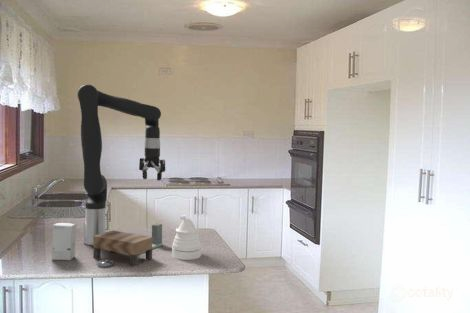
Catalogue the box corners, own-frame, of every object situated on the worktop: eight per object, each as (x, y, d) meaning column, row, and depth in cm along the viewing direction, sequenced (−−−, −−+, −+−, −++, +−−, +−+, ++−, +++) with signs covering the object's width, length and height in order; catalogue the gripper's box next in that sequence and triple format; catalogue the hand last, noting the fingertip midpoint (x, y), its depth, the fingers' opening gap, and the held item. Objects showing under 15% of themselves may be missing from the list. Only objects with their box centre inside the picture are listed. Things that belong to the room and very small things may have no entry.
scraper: (156, 244, 225) (156, 223, 224) (162, 245, 223) (163, 224, 223) (128, 254, 207) (128, 231, 206) (135, 255, 205) (135, 233, 204)
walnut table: (93, 257, 200) (93, 236, 199) (112, 251, 211) (112, 230, 210) (134, 266, 190) (134, 243, 190) (152, 258, 201) (152, 237, 200)
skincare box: (51, 260, 195) (51, 225, 194) (57, 255, 202) (56, 222, 200) (71, 260, 195) (71, 225, 194) (76, 256, 201) (76, 222, 200)
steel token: (94, 266, 189) (94, 262, 189) (104, 262, 195) (104, 259, 195) (106, 268, 187) (106, 265, 187) (115, 264, 192) (115, 261, 192)
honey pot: (174, 260, 199) (175, 219, 198) (170, 252, 212) (170, 213, 210) (203, 258, 203) (204, 218, 202) (197, 250, 215) (198, 212, 214)
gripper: (136, 146, 229) (135, 179, 231) (159, 148, 223) (159, 181, 224) (145, 146, 236) (145, 177, 237) (168, 147, 230) (168, 180, 231)
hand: (152, 179), depth 231 cm, fingers open, 8 cm apart
